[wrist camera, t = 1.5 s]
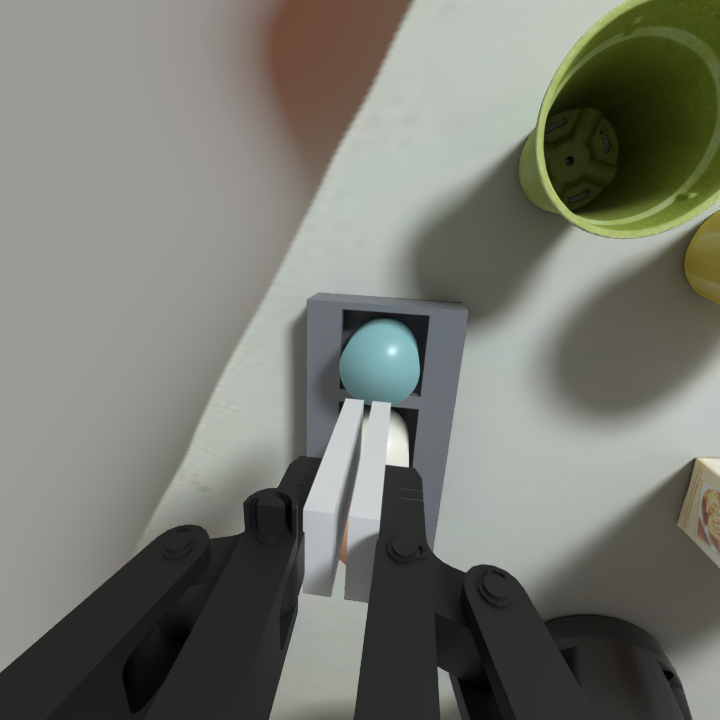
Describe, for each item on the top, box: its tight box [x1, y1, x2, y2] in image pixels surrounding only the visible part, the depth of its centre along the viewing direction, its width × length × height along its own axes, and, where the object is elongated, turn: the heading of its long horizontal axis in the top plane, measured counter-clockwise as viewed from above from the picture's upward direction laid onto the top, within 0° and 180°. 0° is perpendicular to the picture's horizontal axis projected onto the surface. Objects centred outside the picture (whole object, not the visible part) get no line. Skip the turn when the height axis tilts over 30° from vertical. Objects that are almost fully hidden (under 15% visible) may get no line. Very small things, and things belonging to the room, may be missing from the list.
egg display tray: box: [306, 293, 469, 552], centre depth 29 cm, size 21×11×4 cm, turn 177°
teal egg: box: [339, 317, 420, 406], centre depth 24 cm, size 5×5×4 cm
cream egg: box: [353, 406, 409, 491], centre depth 26 cm, size 5×5×4 cm
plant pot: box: [519, 0, 720, 239], centre depth 19 cm, size 9×9×9 cm
